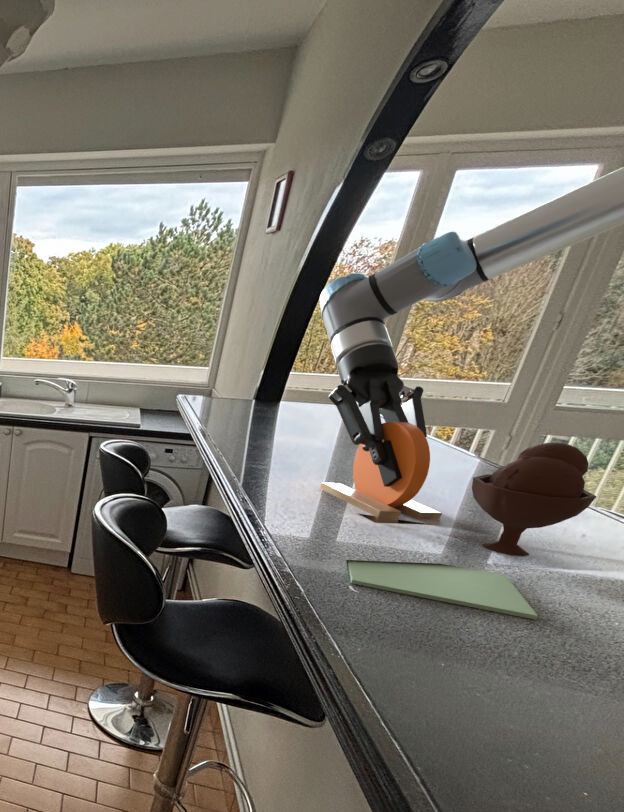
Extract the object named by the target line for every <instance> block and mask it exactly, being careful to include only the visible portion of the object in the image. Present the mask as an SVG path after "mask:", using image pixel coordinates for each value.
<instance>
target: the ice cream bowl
mask: <svg viewBox="0 0 624 812" xmlns="http://www.w3.org/2000/svg"><path fill="white" fill-rule="evenodd" d="M518 454H519V455H518V456H517V459H516V460H514V461H510V462H509V463H507V464H506V465H503V466H500V467H499V468H498V469H496V470H494V472H493V473H492V474H488V473H487V474H482V475H478V476H474V477H472V484H471V491H472V496H473V499H474V500H475V501H476V503H477V504H478V505H479V507H480V508H481V509H482V510H483V511H484V512H485V513H486V514H488V515H489V517H491V518H492V519H493V520H495V521H497V522H498V523H500V524H502V527H503V530H502V533H501V534H500V537H499V539H498V540H493V541H489V542H485V543H481V546H482V548H484V549H486V550H488V551H492V552H494V553H497V554H501V555H502V554H503V555H507V556H512V557H527V556H529V555H530V553H529V552H527V551H526V550H525V549H523V548H522V547H521V546H519V544H518V543H519V542H520V538H521V537H522V533H524V532H526V530H527V529H541V528H544V527H549V526H553V525H556V524H559V523H563V522H564V521H567V520H569V519H572V518H575V517H577V516H578V515H580V514H581V513H583V512H584V511H585V510H587V509H588V508H589V507H590V506H591V504H592V503H593V502H594V501H595V499H596V498H597V497H598V496H597V495H595V494H594V493H591V492H589V491H587V490H585V485H586V482H585V478H584V475H586V474H587V472H588V470H589V461H588V458H587V456H586V455H585V454H584V453H583V451H581V450H580V449H579V448H578V447H575V446H574V445H571V444H569V443H563V442H553V441H552V442H551V441H550V442H544V443H539V444H536V445H533V446H529V447H527V448H526V449H524V450H523V451H521V452H520V453H518Z"/></svg>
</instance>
